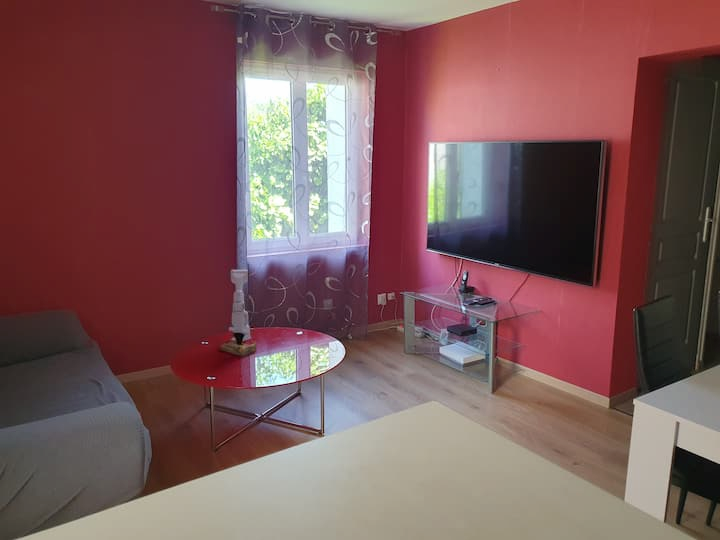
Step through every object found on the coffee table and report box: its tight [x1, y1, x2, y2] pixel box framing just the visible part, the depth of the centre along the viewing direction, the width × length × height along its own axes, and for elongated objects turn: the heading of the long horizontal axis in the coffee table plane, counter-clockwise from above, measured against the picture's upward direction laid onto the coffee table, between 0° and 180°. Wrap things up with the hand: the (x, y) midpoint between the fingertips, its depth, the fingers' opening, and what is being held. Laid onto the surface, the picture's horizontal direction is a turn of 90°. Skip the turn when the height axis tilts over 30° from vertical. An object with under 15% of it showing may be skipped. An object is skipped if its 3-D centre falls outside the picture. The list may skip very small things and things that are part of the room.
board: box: [219, 340, 257, 357], centre depth 326 cm, size 11×18×4 cm, turn 58°
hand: (239, 344), depth 326 cm, fingers closed
